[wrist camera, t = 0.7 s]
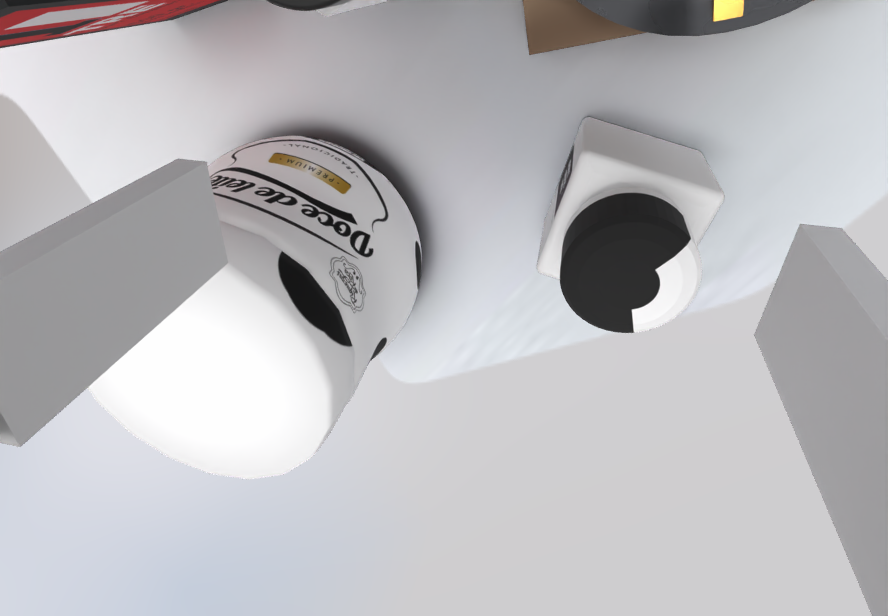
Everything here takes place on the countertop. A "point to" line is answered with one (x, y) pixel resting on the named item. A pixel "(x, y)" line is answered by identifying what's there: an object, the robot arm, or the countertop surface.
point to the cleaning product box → (84, 16)
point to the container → (628, 227)
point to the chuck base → (567, 25)
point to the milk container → (274, 313)
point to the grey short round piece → (690, 14)
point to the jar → (325, 5)
